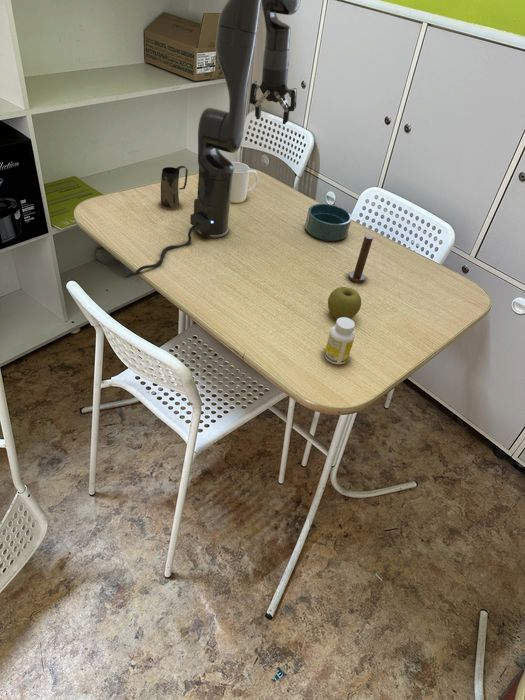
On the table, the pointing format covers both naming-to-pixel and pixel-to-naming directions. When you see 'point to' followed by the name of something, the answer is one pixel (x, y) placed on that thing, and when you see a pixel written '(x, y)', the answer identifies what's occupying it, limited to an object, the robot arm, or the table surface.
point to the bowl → (328, 222)
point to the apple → (344, 302)
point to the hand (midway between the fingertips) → (271, 120)
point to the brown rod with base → (361, 261)
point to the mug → (171, 187)
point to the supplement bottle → (340, 341)
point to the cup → (241, 182)
